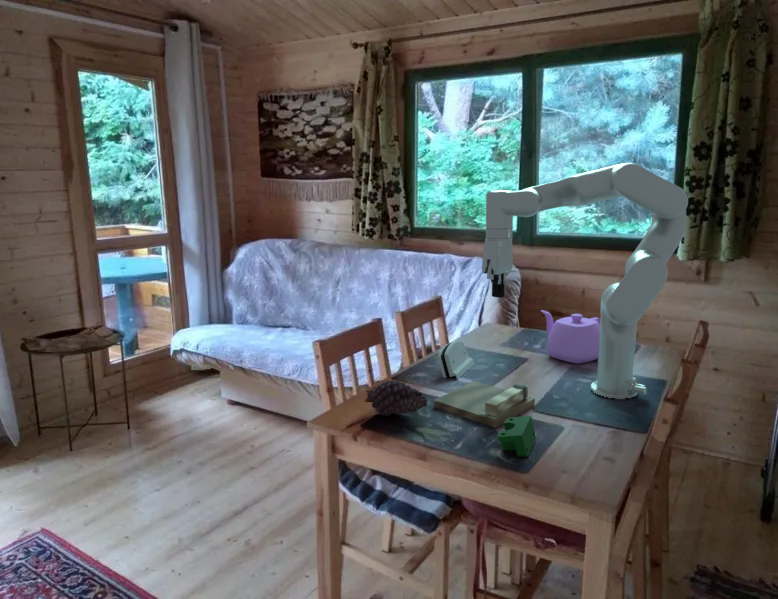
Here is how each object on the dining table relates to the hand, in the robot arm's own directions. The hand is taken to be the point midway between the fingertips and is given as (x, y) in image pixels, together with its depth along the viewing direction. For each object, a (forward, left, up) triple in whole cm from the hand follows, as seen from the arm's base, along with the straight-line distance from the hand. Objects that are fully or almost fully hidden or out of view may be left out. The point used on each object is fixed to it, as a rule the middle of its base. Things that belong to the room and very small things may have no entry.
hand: (498, 296), depth 172 cm
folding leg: (-15, +17, -24) cm, 33 cm away
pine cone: (+7, +38, -27) cm, 47 cm away
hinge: (+16, -1, -27) cm, 31 cm away
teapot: (-6, -37, -27) cm, 46 cm away
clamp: (-26, +32, -27) cm, 49 cm away
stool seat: (-7, +17, -27) cm, 33 cm away
